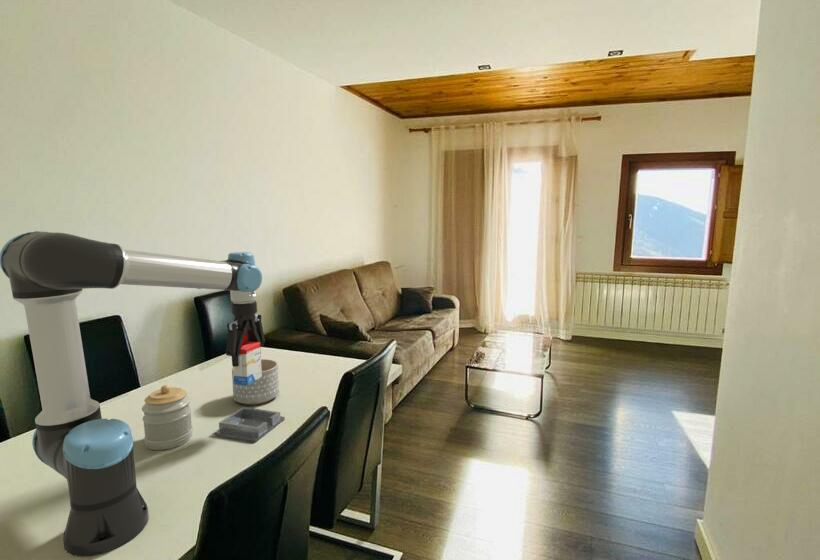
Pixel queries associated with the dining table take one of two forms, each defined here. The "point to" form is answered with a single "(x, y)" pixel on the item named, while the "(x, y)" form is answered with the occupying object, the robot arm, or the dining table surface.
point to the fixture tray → (248, 424)
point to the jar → (167, 418)
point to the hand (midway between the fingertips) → (247, 370)
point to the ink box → (249, 362)
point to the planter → (259, 386)
